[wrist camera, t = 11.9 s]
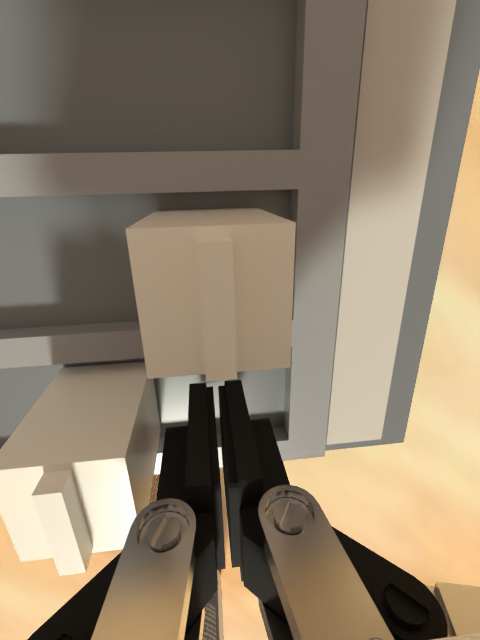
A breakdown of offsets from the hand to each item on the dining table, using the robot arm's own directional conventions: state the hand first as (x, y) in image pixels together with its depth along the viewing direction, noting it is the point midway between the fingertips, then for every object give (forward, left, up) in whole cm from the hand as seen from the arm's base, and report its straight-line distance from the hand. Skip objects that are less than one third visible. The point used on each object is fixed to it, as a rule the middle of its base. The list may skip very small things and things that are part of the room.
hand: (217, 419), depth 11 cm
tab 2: (0, -5, -2) cm, 5 cm away
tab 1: (+4, 0, -2) cm, 4 cm away
